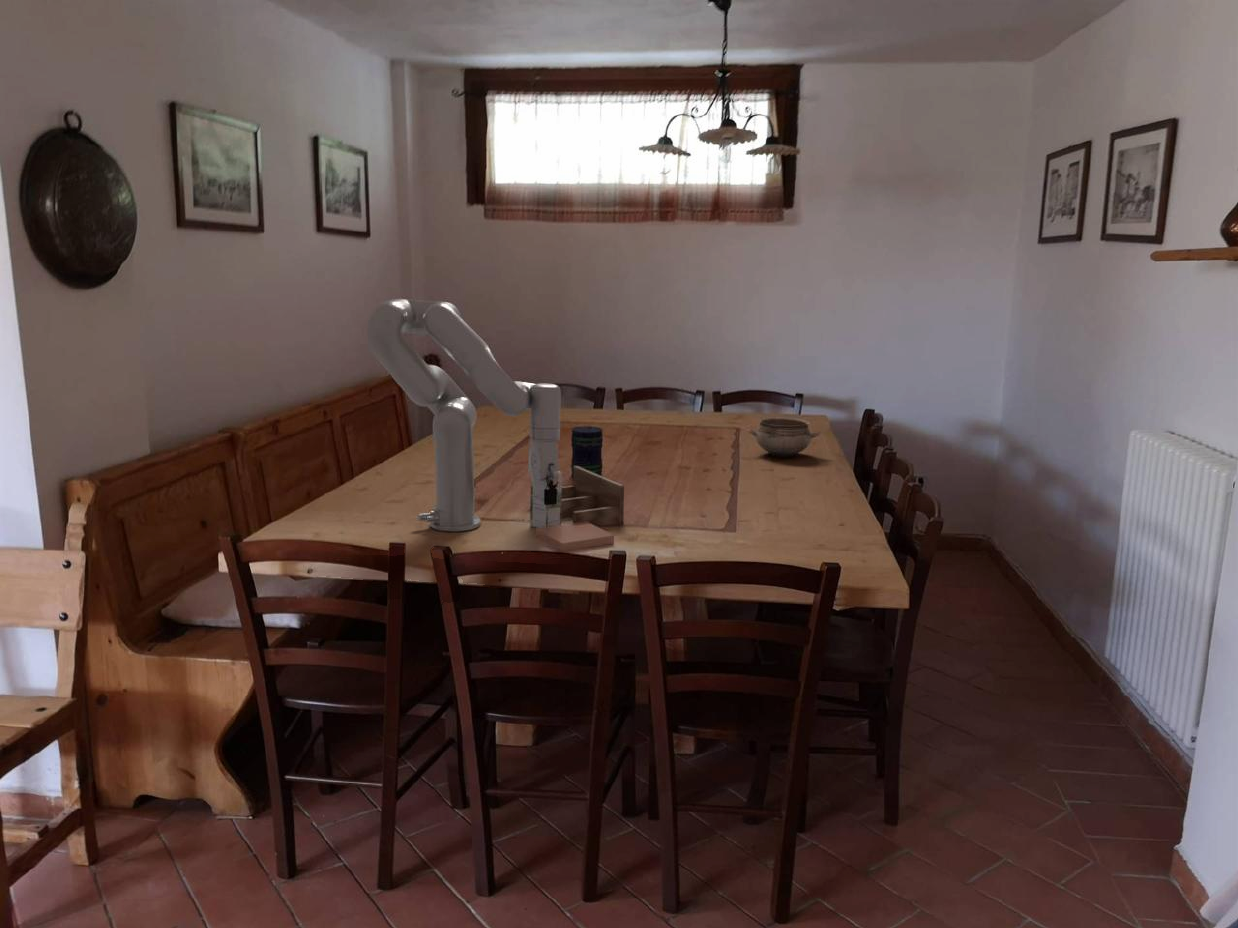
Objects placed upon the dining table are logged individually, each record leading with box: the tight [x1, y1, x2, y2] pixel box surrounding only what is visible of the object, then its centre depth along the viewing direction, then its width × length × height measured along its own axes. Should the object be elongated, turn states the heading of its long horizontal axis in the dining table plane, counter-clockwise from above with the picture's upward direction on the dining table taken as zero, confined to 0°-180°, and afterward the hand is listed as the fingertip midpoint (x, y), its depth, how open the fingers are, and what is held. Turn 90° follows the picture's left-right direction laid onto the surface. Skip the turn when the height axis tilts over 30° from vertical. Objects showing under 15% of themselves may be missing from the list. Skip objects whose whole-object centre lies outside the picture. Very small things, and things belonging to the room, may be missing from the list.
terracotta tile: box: [535, 521, 615, 552], centre depth 229 cm, size 14×14×2 cm
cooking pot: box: [747, 416, 821, 459], centre depth 329 cm, size 25×19×12 cm
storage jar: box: [570, 426, 604, 478], centre depth 293 cm, size 10×10×15 cm
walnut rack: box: [561, 466, 625, 528], centre depth 250 cm, size 14×26×10 cm, turn 31°
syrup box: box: [529, 469, 563, 528], centre depth 239 cm, size 6×6×14 cm
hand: (543, 499), depth 239 cm, fingers open, 9 cm apart
